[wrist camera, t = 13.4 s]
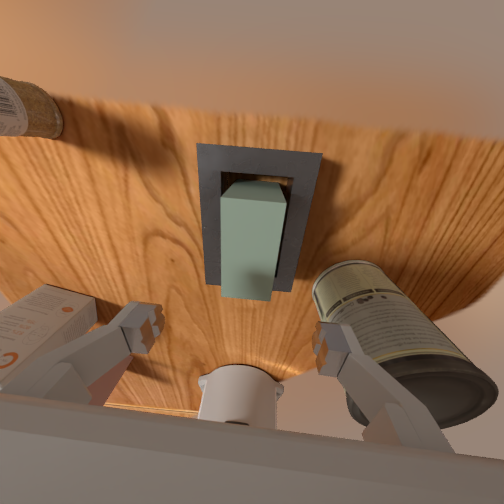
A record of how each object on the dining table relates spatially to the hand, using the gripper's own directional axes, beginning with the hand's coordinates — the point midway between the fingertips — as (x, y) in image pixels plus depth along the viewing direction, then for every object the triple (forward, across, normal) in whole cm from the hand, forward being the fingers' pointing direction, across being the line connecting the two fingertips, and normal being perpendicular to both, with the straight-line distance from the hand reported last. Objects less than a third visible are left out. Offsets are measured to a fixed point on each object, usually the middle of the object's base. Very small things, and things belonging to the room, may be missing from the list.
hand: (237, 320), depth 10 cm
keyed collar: (+15, 0, -1) cm, 15 cm away
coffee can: (+16, -14, +8) cm, 23 cm away
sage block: (+15, 0, -1) cm, 15 cm away
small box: (+15, +30, +17) cm, 38 cm away
